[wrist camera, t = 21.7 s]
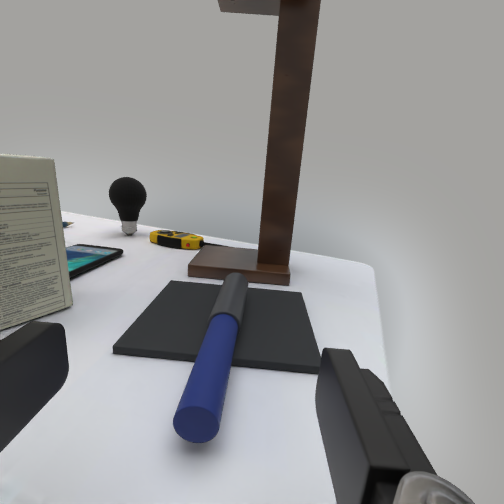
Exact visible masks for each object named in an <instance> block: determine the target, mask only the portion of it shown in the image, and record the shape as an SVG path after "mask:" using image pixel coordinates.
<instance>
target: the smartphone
mask: <svg viewBox="0 0 504 504" xmlns="http://www.w3.org/2000/svg"><path fill="white" fill-rule="evenodd" d="M121 254H123V250H122V249H118V248H110V247H101V246H93V245H85V244H77V245H73V246H70V247H67V248H66V255H67V262H68V270H69V278H71V277H73V276H75V275H77V274H79V273H82V272H84V271H86V270H88V269H91V268H93V267H95V266H97V265H99V264H102V263H104V262H106V261H108V260H111V259H113V258H115V257H117V256H119V255H121Z"/></svg>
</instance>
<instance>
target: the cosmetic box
mask: <svg viewBox="0 0 504 504" xmlns="http://www.w3.org/2000/svg"><path fill="white" fill-rule="evenodd" d="M72 305H73V301H72V293H71V285H70V278H69V270H68V262H67V255H66V248H65V240H64V232H63V224H62V217H61V210H60V202H59V194H58V186H57V179H56V172H55V163H54V159H51V158H47V157H36V156H25V155H11V154H0V330H2V329H5V328H8V327H11V326H14V325H17V324H20V323H23V322H26V321H29V320H32V319H35V318H38V317H41V316H44V315H47V314H50V313H52V312H55V311H58V310H61V309H64V308H67V307H70V306H72Z"/></svg>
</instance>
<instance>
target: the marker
mask: <svg viewBox="0 0 504 504" xmlns="http://www.w3.org/2000/svg"><path fill="white" fill-rule="evenodd" d="M247 290H248V281H247V279H246V277H245V276H244V275H242V274H240V273H231V274H229V275H227V276H226V278H225V280H224V282H223V284H222V287H221V289H220V292H219V294H218V297H217V299H216V302H215V304H214V307H213V309H212V312H211V314H210V317H209V319H208V322H207V332H206V335H205V337H204V340H203V343H202V345H201V348H200V350H199V353H198V356H197V358H196V361H195V363H194V366H193V369H192V371H191V374H190V376H189V379H188V382H187V384H186V387H185V389H184V392H183V395H182V397H181V400H180V402H179V405H178V408H177V410H176V413H175V415H174V418H173V426H174V429H175V431H176V432H177V434H178V435H179V436H180V437H182V438H183V439H185V440H187V441H190V442H193V443H203V442H207V441H209V440H211V439H213V438H214V437H215V436H216V434H217V433H218V430H219V426H220V420H221V415H222V410H223V405H224V399H225V394H226V389H227V384H228V378H229V373H230V368H231V362H232V357H233V352H234V347H235V341H236V337H237V336H238V335H239V333H240V330H241V325H242V319H243V313H244V307H245V301H246V295H247Z"/></svg>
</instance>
